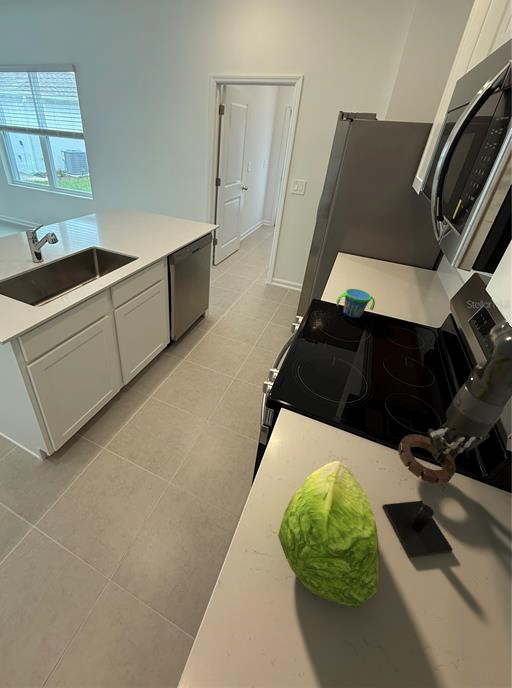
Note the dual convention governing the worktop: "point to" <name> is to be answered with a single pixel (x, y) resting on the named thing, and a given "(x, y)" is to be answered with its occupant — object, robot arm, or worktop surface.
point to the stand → (416, 529)
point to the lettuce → (332, 537)
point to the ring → (419, 469)
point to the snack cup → (355, 302)
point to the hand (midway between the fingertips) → (442, 458)
